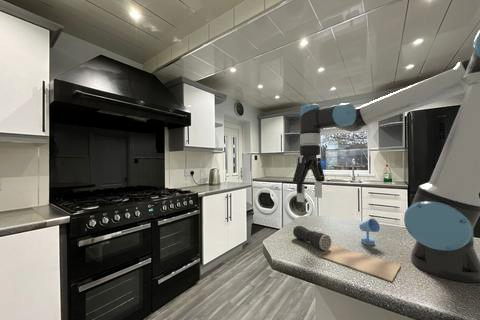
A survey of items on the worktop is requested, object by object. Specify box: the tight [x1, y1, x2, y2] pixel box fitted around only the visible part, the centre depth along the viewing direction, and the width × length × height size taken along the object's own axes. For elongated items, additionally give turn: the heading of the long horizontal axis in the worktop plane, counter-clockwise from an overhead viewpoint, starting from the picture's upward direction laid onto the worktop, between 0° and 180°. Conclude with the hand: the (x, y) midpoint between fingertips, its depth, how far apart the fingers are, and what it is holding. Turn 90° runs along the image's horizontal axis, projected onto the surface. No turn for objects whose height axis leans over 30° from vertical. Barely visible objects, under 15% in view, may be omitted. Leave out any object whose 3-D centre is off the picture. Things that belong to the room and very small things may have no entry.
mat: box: [318, 245, 402, 283], centre depth 65 cm, size 20×12×1 cm, turn 42°
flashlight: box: [292, 225, 332, 252], centre depth 79 cm, size 15×5×5 cm, turn 25°
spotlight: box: [359, 218, 381, 246], centre depth 79 cm, size 5×10×7 cm
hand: (309, 199), depth 79 cm, fingers open, 13 cm apart
